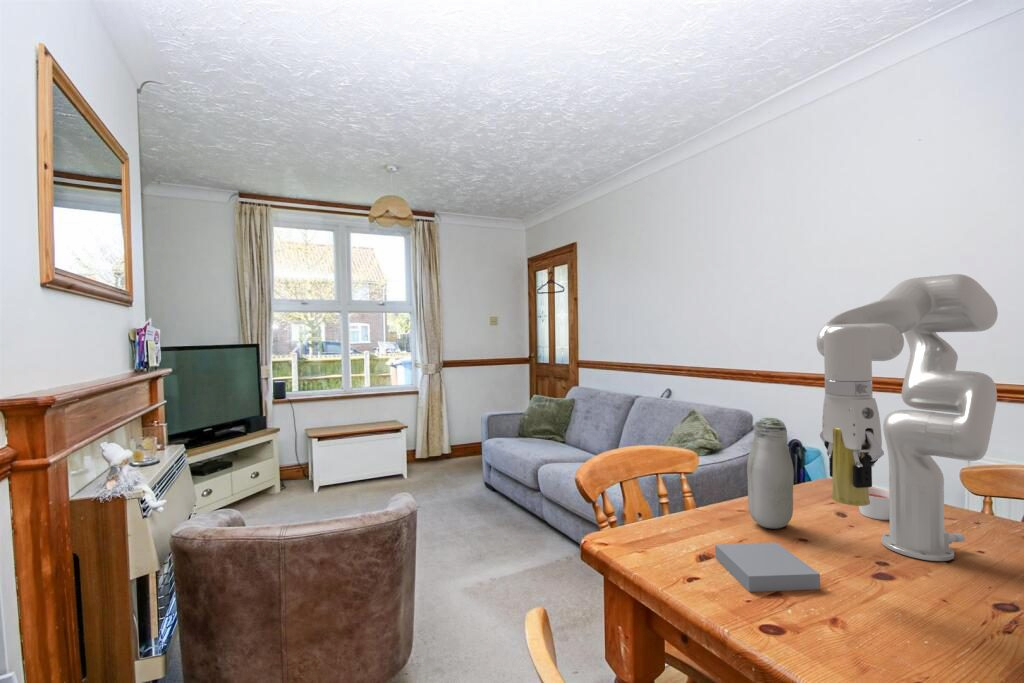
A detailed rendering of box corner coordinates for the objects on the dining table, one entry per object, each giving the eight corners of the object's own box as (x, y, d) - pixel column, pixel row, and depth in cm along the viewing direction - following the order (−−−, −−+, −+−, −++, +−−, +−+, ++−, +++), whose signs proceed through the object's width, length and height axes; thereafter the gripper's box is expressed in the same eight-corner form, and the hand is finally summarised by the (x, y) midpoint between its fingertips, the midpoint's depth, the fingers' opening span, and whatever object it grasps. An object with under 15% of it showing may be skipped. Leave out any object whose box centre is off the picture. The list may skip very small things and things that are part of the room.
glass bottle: (768, 536, 116) (767, 422, 116) (740, 520, 126) (739, 415, 126) (803, 532, 118) (801, 420, 118) (772, 517, 128) (771, 414, 128)
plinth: (777, 556, 106) (776, 542, 106) (820, 589, 92) (819, 573, 92) (715, 558, 105) (715, 544, 105) (749, 591, 91) (748, 576, 91)
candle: (906, 521, 123) (906, 497, 123) (871, 522, 124) (871, 498, 124) (880, 509, 132) (879, 486, 132) (847, 509, 133) (847, 487, 133)
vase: (877, 507, 88) (875, 431, 88) (840, 505, 90) (838, 430, 89) (860, 495, 94) (858, 424, 94) (825, 494, 96) (824, 424, 95)
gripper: (905, 394, 83) (907, 496, 84) (835, 383, 100) (837, 468, 101) (863, 395, 83) (865, 498, 83) (800, 385, 100) (802, 470, 100)
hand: (850, 480), depth 92 cm, fingers closed on vase, 5 cm apart
